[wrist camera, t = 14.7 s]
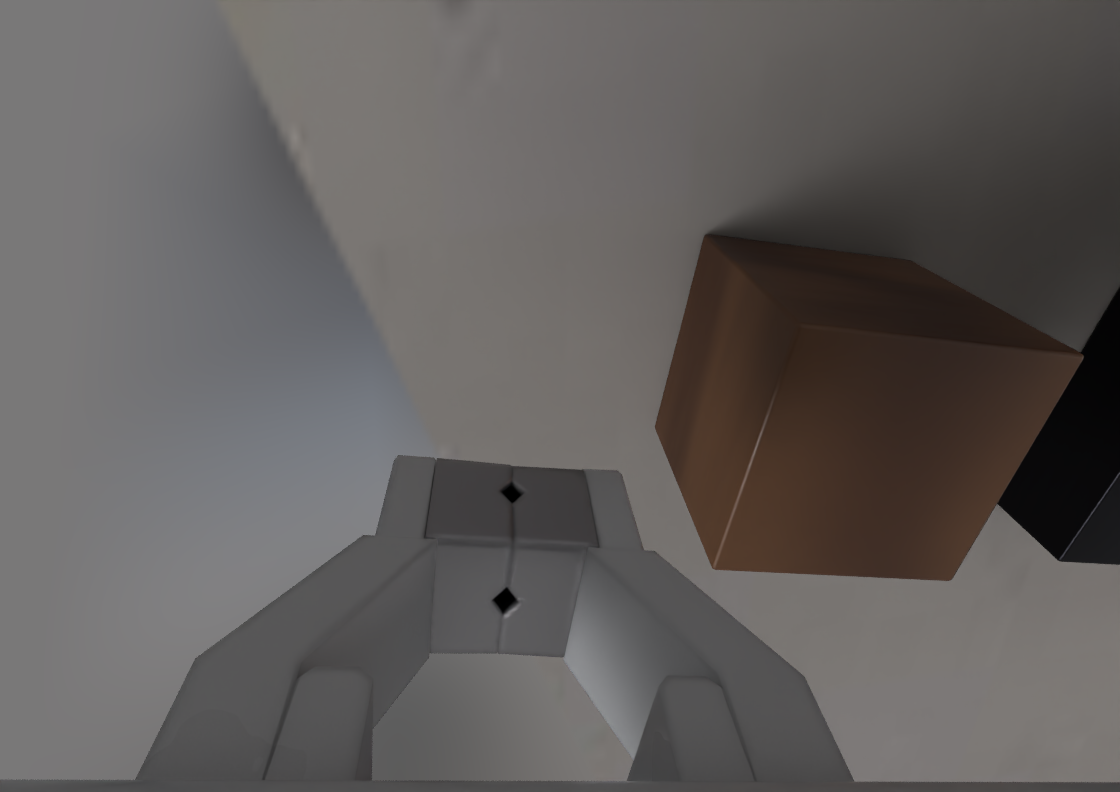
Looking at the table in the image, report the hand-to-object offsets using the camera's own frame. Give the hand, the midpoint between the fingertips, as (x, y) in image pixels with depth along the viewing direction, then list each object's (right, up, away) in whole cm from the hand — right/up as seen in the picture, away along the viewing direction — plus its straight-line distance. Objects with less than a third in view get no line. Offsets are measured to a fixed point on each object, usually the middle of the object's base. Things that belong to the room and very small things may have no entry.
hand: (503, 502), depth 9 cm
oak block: (+6, +3, +7) cm, 9 cm away
